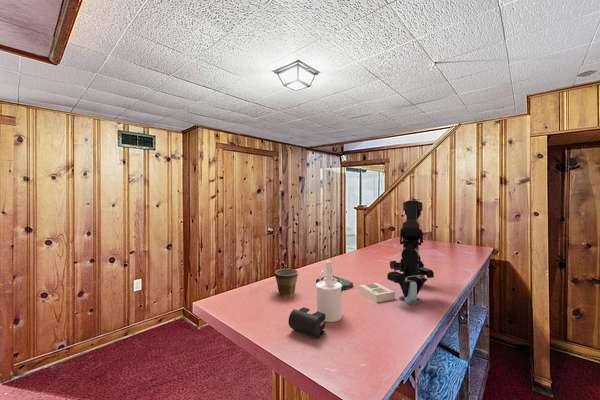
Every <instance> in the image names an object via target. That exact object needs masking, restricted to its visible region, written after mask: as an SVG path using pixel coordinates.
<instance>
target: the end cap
mask: <svg viewBox="0 0 600 400" xmlns="http://www.w3.org/2000/svg"><path fill="white" fill-rule="evenodd" d="M308 312H310V308H307V307H304V306H303V307H301V308H299V309H295V308H293V310H291V311H290V313H289V316H288V327H289V328H291V329H292V330H294V331H295V332H299V333H301V334H304V335H307V336H310V337H312V338H315V339H319V338H320V337H322V336H323V335H324V334H325V333H326V331H325V330H324V329H326V326H327V325H326V322H324V320H325V314H324V313H321V312H318V311H317V310H316V311H315V312H314V313H308ZM322 322H324V323H323V324H322Z"/></svg>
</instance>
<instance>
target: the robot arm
mask: <svg viewBox="0 0 600 400" xmlns="http://www.w3.org/2000/svg"><path fill="white" fill-rule="evenodd" d="M402 209H403V210H402V211H403V212H404V215H405V216H406V219H405V221H404V222H403V223H402V227H401V228H400V233H399V234H400V235H399V244H400V245H402V250H401V255H400V257H401V258H400V261H399V262H397V261H396V260H391V261H389V267H390V270H393V271H389V272H388V273H387V277H386V278H387V280H389V281H390V282H392V283H394V284H399V286H400V290H401V292H402V294H403V295H402V296H404V297H407V295H408V290H409V285H410V282H408V281H407V280H412V281H415V282H416V284H417V296H418V295H419V292H420V291H421V289H422V288H423V286H424V284H425V283H426V282H427V281H428V279H433V278H435V273H434V271H433V270H432V269H430V268H427V267H425V264H424V263H423V260H422V259H421V255H420V253H419V252H420V251H419V247H420V246H422V244H423V243H424V232H423V230H422V228H421V229H420V223H419V222H418V220H419V219H420V217H421V215H422V212H423V202H421V201H419V200H415V199H414V200H413V199H409V200H406V201H403V202H402Z"/></svg>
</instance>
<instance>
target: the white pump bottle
mask: <svg viewBox="0 0 600 400" xmlns="http://www.w3.org/2000/svg"><path fill="white" fill-rule="evenodd" d="M324 272H325V273H324ZM323 273H324V274H325V275H324V276H323V277H324V279H325V281H323V280H324V279H323V280H322V281H321V278H322V275H323ZM332 276H333V263H332V260H326V262H325V269H322V270H321V272H320V274H319V278H318V279H320V282H318V283H316V282H315V287H316V312H317V311H318V312H321V313H324V314H325V320H324V321H323V322H324V323H326V322H327V323H335V322H338V321H340V320H341V319H343V314H342V291H341V288H342V284H341V283H339V282H337V278H334V277H332ZM333 279H334V281H333Z"/></svg>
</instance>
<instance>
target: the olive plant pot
mask: <svg viewBox="0 0 600 400" xmlns="http://www.w3.org/2000/svg"><path fill="white" fill-rule="evenodd" d="M273 275H274V278H275V281H276V284H277V290H278V295H279V297H282V298H292V297H294V296H295V293H296V287H297V286H296V285H297V281H298V277H299V276H298V275H299V272H298V270H297V269H294V268H281V269H277V270H274V271H273Z"/></svg>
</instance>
